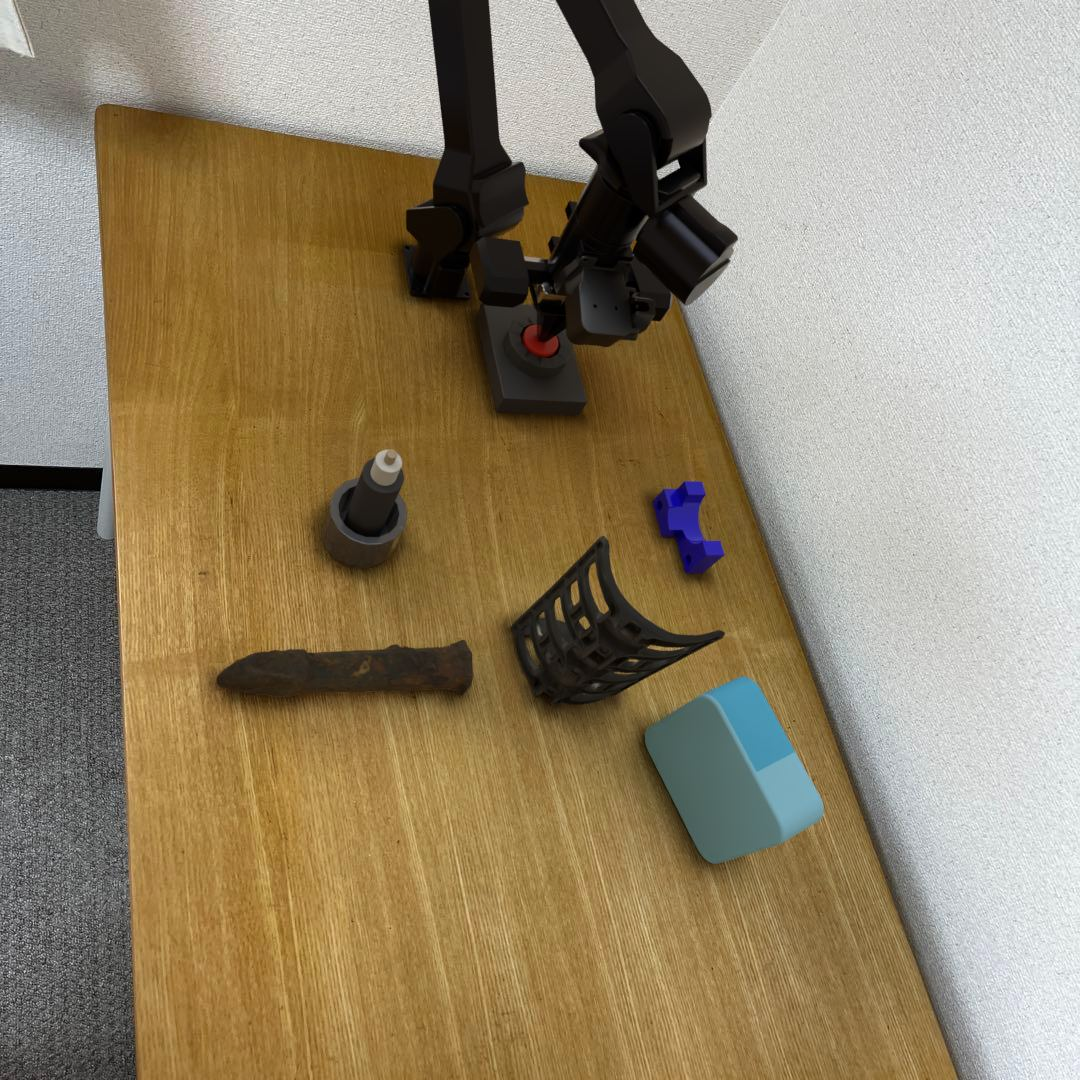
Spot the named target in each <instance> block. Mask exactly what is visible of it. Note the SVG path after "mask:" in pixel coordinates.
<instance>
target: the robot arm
mask: <svg viewBox="0 0 1080 1080" xmlns="http://www.w3.org/2000/svg"><path fill="white" fill-rule="evenodd" d="M554 1H555V4H556V5H557V6H558V9H559V10H560V12H561V14H562V16H563V18H564V20H565V22H566V23H567V26H568V27H569V29H570V31H571V33H572V35H573V37H574V39H575V41H576V42H577V44H578V46H579V48H580V51H581V53H582V54H583V56H584V57H585V60H586V61H587V64H588V66H589V70H590V71H591V75H592V78H593V80H594V81H593V83H594V107H595V113H596V116H597V118H598V121H599V124H600V126H601V128H600V129H598V130H596V131H594V132H592V133H589V134H587V135H585V136H583V137H581V138H580V139H579V140H578V146H579V148H580V149H581V150H582V151H583V152H584V153H586V155H588V156H589V157H590V158H591V160H593V162H595V164H596V165H595V166H594V169H593V171H592V173H591V175H590V176H589V178H588V180H587V183H586V185H585V186H584V188H583V190H582V191H581V195H580V196H579V198H578V200H577V201H572V200H568V202H567V204H566V206H565V208H564V212H565V216H566V219H567V222H566V224H565V226H564V228H563V230H562V232H561V234H560V236H557V235H556V236H555V235H551V237H550V239H549V241H548V242H547V246H548V247H547V248H548V251H549V258H545V257H535V256H526V255H524V250H523V248H522V244H521V240H515V239H508V238H507V239H506V238H499V237H501V236H503V235H505V234H507V233H509V232H511V231H513V230H515V229H516V228H517V226H518V225H519V224H520V222H522V221H523V217H524V213H525V207H528V206H529V205H530V202H529V198H528V195H527V191H526V175H527V174H526V173H527V172H526V171H527V170H526V166H525V163H524V162H523V161H513V160H512V158H511V157H510V155H509V154H508V152H507V150H506V149H505V147H504V146H503V144H502V142H501V137H500V128H499V113H498V102H497V101H498V100H497V89H496V87H497V86H496V76H495V75H496V74H495V64H494V48H493V36H492V22H491V11H490V0H427V3H428V13H429V23H430V30H431V39H432V47H433V55H434V64H435V73H436V82H437V90H438V97H439V98H438V99H439V106H440V107H439V108H440V116H441V126H442V133H443V134H442V135H443V141H444V143H443V144H444V145H443V146H444V147H443V152H442V154H441V157H440V161H439V163H438V165H437V170H436V172H435V174H434V178H433V181H432V197H431V198H429V199H427V200H425V201H423V202H420V203H419V204H416V205H414V206H412V207H410V208H408V209H406V210H405V229H406V231H407V232H408V233H409V235H411V236H412V237H413V238H414V239H415V240H416V243H415V244H408V243H406V244H403V245H402V248H401V253H402V259H403V264H404V270H405V275H406V281H407V287H408V292H409V294H410V295H411V296H414V297H424V298H434V299H435V298H436V299H444V300H456V301H465V302H468V301H470V300H471V298H472V292H471V286H470V282H469V277H468V271H469V268H470V269H471V273H472V277H473V281H474V287H475V292H476V295H477V300H478V301H479V302H481V303H483V304H484V305H488V306H498V307H509V308H514V307H516V306H518V305H520V304H525V302H526V299H527V297H528V296H529V292H530V296H531V300H532V305H534V308H535V310H536V311H537V337H538V341H539V342H547V341H549V340H550V339H552V338H553V337H555V336H556V335H557V334H559V333H560V332H562V331H563V330H565V329H566V335H567V338H568V340H569V341H570V342H571V343H572V345H576V346H593V347H596V346H597V347H601V348H610V347H611V346H613V345H615V344H617V343H618V342H619V341H630V342H631V341H633V342H636V341H637V340H638V337H639V335H641V334H642V333H644V332H645V331H647V329H648V328H649V326H650V325H651V323H652V322H661V321H662V320H663V319H664V318H665V316H666V315H667V314H668V312H669V310H670V309H671V308H672V305H673V298H674V297H675V298H676V299H677V300H679V302H680V303H682V305H684V306H685V307H688V306H689V305H691V304H693V303H694V302H695V301H697V300H698V298H700V297H701V296H702V295H703V294H705V293H706V292H707V290H708V289H709V288H710V287H712V285H714V283H715V282H716V281H717V280H718V279H719V278H720V277H721V275H722V274H723V273H724V272H725V270H726V269H727V268H728V266H729V265H730V263H731V262H732V261H731V258H732V256H733V254H734V252H735V249H734V248H733V247H734V246H735V245H736V243H737V242H738V241H739V236H738V235H737V233H735V232H734V231H733V230H732V229H731V228H730V227H728V226H727V225H726V224H724V223H722V222H721V221H719V220H718V219H717V218H716V217H714V216H713V214H711V213H710V212H709V211H708V210H707V209H706V208H705V207H704V206H703V205H702V204H701V203H700V202H699V201H698V200H697V199H696V198H694V196H695V195H696V194H697V192H699V191H701V190H702V189H704V188H706V187H707V185H708V160H707V157H708V156H707V134H708V133H709V127H710V121H711V120H712V117H713V112H712V105H711V102H710V98H709V96H708V94H707V92H706V91H705V89H704V88H703V86H702V85H701V83H700V82H699V80H697V78H696V77H695V75H694V73H693V72H692V70H691V69H690V68H689V66H688V65H687V64H686V62H685V61H684V59H683V58H682V57H681V56H680V55H679V54H678V53H676V52H675V51H674V50H672V49H671V48H670V47H669V46H668V45H667V44H665V43H664V42H662V41H661V40H660V39H658V38H657V37H656V35H655V34H654V32H653V31H652V30H651V29H650V27H649V26H648V24H647V22H646V20H645V19H644V17H643V15H642V13H641V11H640V9H639V7H638V5H637V3H636V1H635V0H554ZM675 161H677V162H678V166H679V168H677V169H675V170H674V171H671V172H670V173H668V174H666V175H665V176H662V177H661V178H659V176H658V171H660V170H661V169H663V168H665V167H667V166H669V165H670V164H673V163H674V162H675ZM634 241H635V244H634V246H633V249H632V244H633V243H634Z"/></svg>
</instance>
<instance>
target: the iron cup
mask: <svg viewBox="0 0 1080 1080" xmlns="http://www.w3.org/2000/svg"><path fill="white" fill-rule="evenodd" d="M359 478H360V476H359V477H354V478H352V479H349V480H347V481H344V482H343V483H341V484H340V485H339V486H338V487H337V489H335V490H334V492H333V493H332V496H331V498H330V502H329V505H328V507H327V510H326V514H325V517H324V520H323V523H322V527H321V538H322V543H323V545H324V547H325V550H327V551H328V554H329V555H330V557H332V558H333V559H334V560H335V561H337V562H338V563H340V564H342V565H343V566H346V567H349V568H353V569H370V568H375V567H377V566H379V565H381V564H383V563H384V562H386V560H388V558H389V557H390V556H391V555H392V554H393V552H394V550H395V548H396V546H397V544H398V542H399V540H400V538H401V536H402V534H403V532H404V529H405V527H406V523H407V520H408V512H407V505H406V502H405V501H404V499H403V497H402V495H401V494H400V493H399V494H398V496H397V498H396V500H395V503H394V505H393V507H392V509H391V512H390V514H389V516H388V518H387V521H386V523H385V525H384V527H383V530H382V532H381V534H380V536H379V537H365V536H362V535H359V534H356V533H354V532H353V531H352V530H350V529H349V528H348V527H347V526H345V524H344V519H345V516H346V513H347V511H348V508H349V505H350V502H351V500H352V497H353V494H354V491H355V489H356V486H357V483H358V480H359Z"/></svg>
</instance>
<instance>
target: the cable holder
mask: <svg viewBox="0 0 1080 1080" xmlns="http://www.w3.org/2000/svg"><path fill="white" fill-rule="evenodd" d="M706 496H707V493H706V489H705V486H704V483H703V481H701V480H700V481H699V480H698V481H696V480H695V481H694V480H693V481H692V480H691V481H688V480H684V481H683V482H682V483H681V484H680V486H678V487H677V488H663V490H661V491H660V492H659V494H658V495H657V496H655V498H654V499H653V500H652V502H651V503H652V505H653V509H654V512H655V516H656V520H657V522H658V527H659V530H660V534H661V537H662V538H675V540H676V545H677V547H678V550H679V551H678V552H679V554H680V557H681V561H682V564H683V568H684V571H685V574H704V573H706V572H707V571H708V570H709V569H710V568H711V567H712V566H714V565H715V564H716V563H717V562H718V561H720V560H721V559H722V558H724V557H725V552H724V548H723V545H722V541H721V540H706V539H705V537H704V535H703V533H702V531H701V528H700V521H699V519H700V517H699V514H700V508H701V506H702V505H701V504H702V502H703V500H704V498H705V497H706Z"/></svg>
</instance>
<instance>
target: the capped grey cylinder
mask: <svg viewBox="0 0 1080 1080" xmlns="http://www.w3.org/2000/svg"><path fill="white" fill-rule="evenodd" d="M402 467H403V460H402V457H401V456H400V454H398V452H397V450H395V449H393V448H392V449H391V448H390V449H383V450H380V451H379V452H378V453H377V454H376V456H375V457H373V458H370V459H369V460H367V461H366V462H365V463H364V464H363V467H362V469H361V473H360V475H359V477H360V478H359V480H358V483H357V486H356V489H355V491H354V494H353V497H352V500H351V502H350V505H349V508H348V511H347V513H346V516H345V519H344V524H345V526H347V527H348V528H349V529H350V530H352V531H353V532H354V533H356V534H359V535H362V536H365V537H379V536H380V534H381V532H382V530H383V527H384V525H385V523H386V521H387V518H388V516H389V514H390V512H391V509H392V507H393V505H394V503H395V500H396V498H397V496H398V494H400V491H401V489H402V487H403V485H404V482H405V473H404V471H403V469H402Z"/></svg>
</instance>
